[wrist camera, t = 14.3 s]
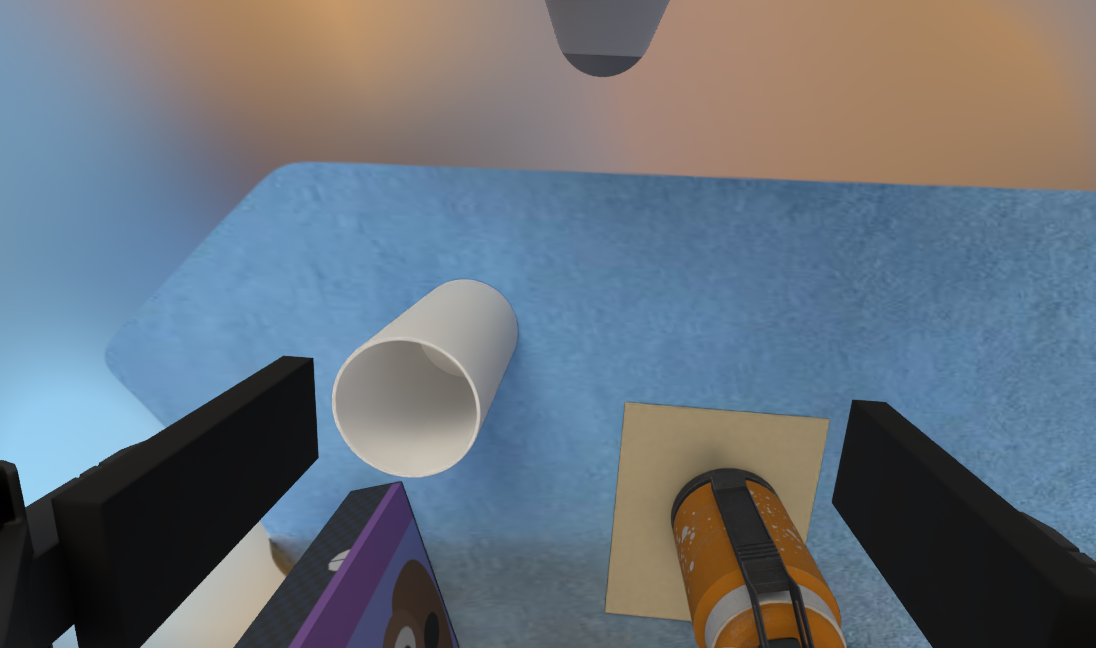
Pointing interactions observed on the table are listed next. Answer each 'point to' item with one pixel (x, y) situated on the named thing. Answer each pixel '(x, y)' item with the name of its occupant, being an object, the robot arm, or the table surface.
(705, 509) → the canister
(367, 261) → the table surface
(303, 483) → the table surface
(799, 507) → the mat
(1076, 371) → the table surface
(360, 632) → the cereal box
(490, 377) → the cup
